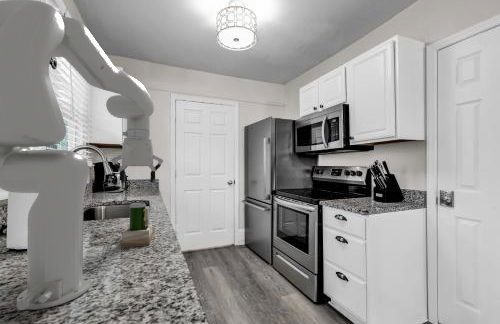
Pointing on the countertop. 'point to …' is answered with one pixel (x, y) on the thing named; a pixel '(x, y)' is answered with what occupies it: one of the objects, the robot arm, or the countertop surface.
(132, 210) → the beer can
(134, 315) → the countertop surface
